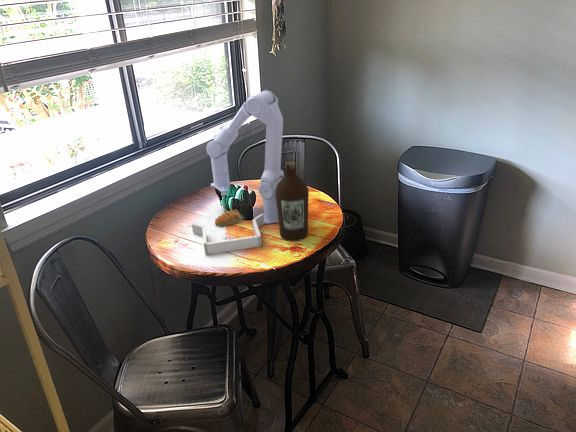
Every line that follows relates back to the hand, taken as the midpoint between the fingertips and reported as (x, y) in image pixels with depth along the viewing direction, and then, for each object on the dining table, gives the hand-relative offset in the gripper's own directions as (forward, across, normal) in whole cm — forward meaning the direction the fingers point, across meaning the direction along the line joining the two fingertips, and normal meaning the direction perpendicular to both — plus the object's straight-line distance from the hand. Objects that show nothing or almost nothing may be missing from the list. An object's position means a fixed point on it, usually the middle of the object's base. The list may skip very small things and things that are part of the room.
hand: (224, 205), depth 175 cm
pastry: (+2, +10, +1) cm, 10 cm away
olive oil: (+2, +26, +21) cm, 34 cm away
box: (+2, +23, 0) cm, 23 cm away
